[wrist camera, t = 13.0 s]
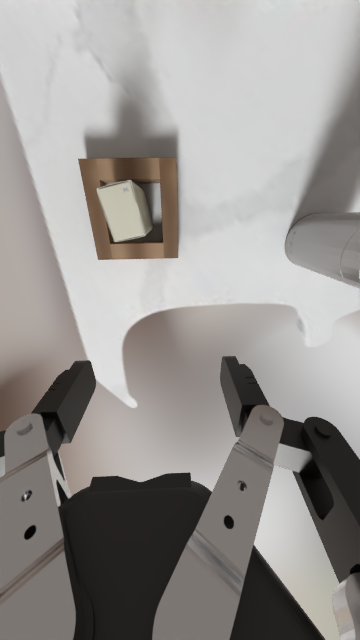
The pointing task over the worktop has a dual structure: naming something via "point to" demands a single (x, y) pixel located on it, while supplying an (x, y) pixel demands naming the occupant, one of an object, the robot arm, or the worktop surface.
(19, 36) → the worktop surface
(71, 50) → the worktop surface
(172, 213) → the socket block
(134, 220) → the skincare box
